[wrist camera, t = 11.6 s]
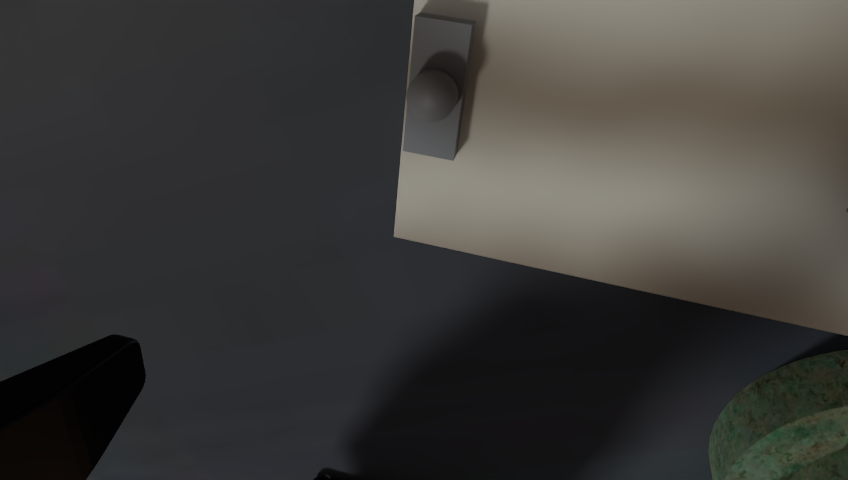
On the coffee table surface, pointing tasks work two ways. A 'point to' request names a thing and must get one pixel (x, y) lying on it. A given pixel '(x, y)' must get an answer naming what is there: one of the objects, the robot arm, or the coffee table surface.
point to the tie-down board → (638, 145)
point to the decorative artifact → (786, 424)
